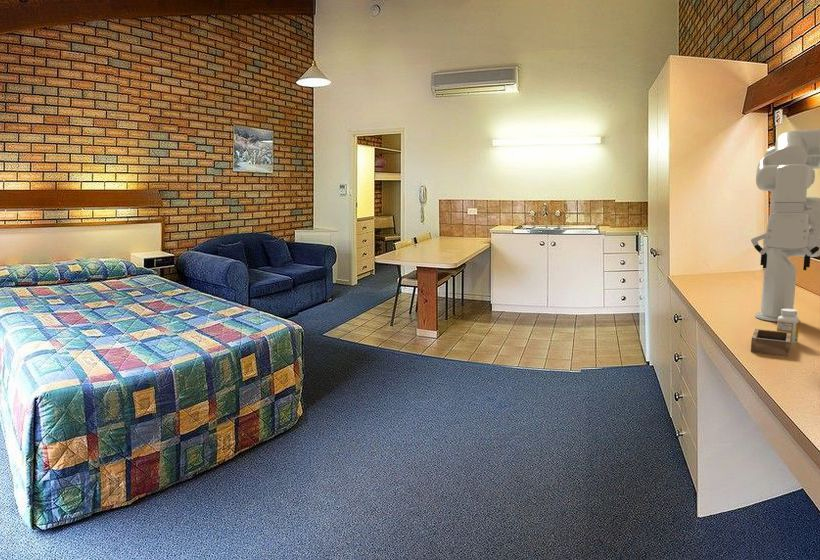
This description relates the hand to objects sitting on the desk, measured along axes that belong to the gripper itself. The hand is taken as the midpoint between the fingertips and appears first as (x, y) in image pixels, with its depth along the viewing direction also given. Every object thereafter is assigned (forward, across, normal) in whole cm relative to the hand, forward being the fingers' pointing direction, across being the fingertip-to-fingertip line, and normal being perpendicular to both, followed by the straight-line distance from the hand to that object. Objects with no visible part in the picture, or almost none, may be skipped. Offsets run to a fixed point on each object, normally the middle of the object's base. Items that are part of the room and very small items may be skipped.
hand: (784, 268), depth 160 cm
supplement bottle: (+23, -2, -7) cm, 24 cm away
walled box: (+23, +2, +4) cm, 23 cm away
